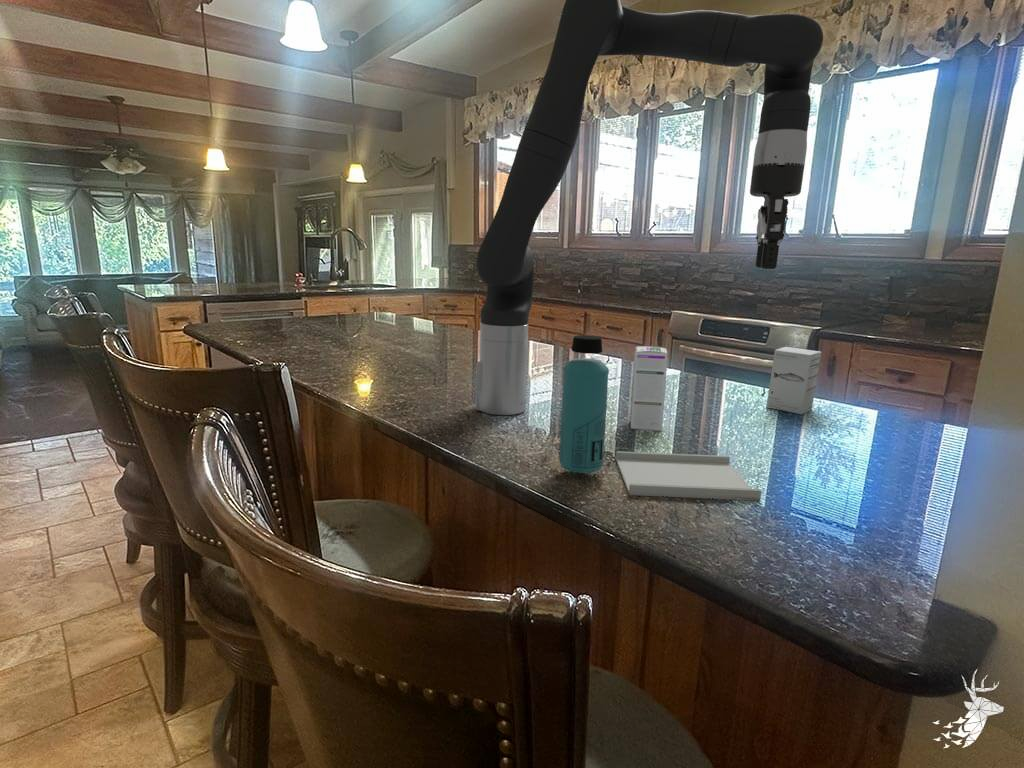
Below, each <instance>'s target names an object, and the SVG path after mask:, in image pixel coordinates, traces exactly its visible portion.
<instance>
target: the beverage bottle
mask: <svg viewBox="0 0 1024 768" xmlns="http://www.w3.org/2000/svg"><path fill="white" fill-rule="evenodd" d="M571 351H572V352H574V353H579V354H586V355H588V354H589V355H590V354H592V355H593V354H601V353H603V340H602V337H601V336H597V335H592V334H586V335H585V334H580V335H574V336H573V338H572V345H571ZM562 369H563V370H562V371H563V375H562V376H563V377H562V400H561V410H560V419H559V421H560V427H559V434H558V435H559V448H558V455H557V456H558V458H559V459H558V458H557V459H558V461H559V465H560V466H561V468H563V469H565V470H568V471H570V472H574V473H579V474H583V473H584V474H586V473H587V474H589V473H595V472H599V471H600V470H602V468H603V465H604V464H605V462H604V461H605V455H606V450H605V443H606V441H605V440H606V437H605V435H606V425H607V423H608V422H607V420H606V419H607V410H608V407H609V406H608V385H609V373H610V370H609V368H608V366H607V365H606V364H605V363H604V362H603V361H602V360H599V359H596V358H586V357H585V358H584V357H579V358H578V357H577V358H572V359H571V360H569V362H567V363H566V364H565V365H564V366H563V367H562Z"/></svg>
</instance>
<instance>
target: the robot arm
mask: <svg viewBox="0 0 1024 768" xmlns="http://www.w3.org/2000/svg"><path fill="white" fill-rule="evenodd" d="M621 3H622V2H621V0H565V2H564V4H563V8H562V10H561V14H560V19H559V23H558V27H557V30H556V34H555V35H556V36H555V39H554V43H553V47H552V50H551V55H550V58H549V62H548V65H547V69H546V71H545V73H544V77H543V78H542V81H541V84H540V86H539V88H538V91H537V93H536V97H535V99H534V102H533V106H532V108H531V111H530V114H529V116H528V119H527V122H526V124H525V126H524V129H523V132H522V134H521V138H520V140H519V143H518V147H517V149H516V151H515V156H514V159H513V161H512V166H511V168H510V171H509V174H508V177H507V180H506V183H505V186H504V188H503V189H504V190H503V193H502V196H501V199H500V202H499V204H498V207H497V210H496V212H495V215H494V217H493V219H492V221H491V223H490V225H489V227H488V229H487V231H486V234H485V236H484V238H483V240H482V241H481V244H480V247H479V249H478V252H477V255H476V260H475V261H476V271H477V274H478V276H479V278H480V280H481V281H482V283H484V284H485V285H487V288H486V290H487V291H486V297H485V301H484V303H483V305H482V307H481V309H480V332H479V333H480V335H479V336H480V337H479V338H480V339H479V340H480V341H479V361H477V362H476V363H475V403H474V404H475V405H474V408H475V410H476V411H480V412H482V413H486V414H490V415H495V416H496V415H498V416H509V415H510V416H511V415H517V414H518V415H519V414H521V413H523V412H525V411H526V402H527V398H526V395H527V394H526V392H527V375H528V373H527V369H528V345H529V343H528V340H529V339H528V338H529V317H530V312H531V310H532V304H533V291H534V277H535V260H534V256H533V252H532V249H531V248H530V246H529V243H530V239H531V236H532V234H533V230H534V228H535V224H536V222H537V220H538V217H539V216H540V214H541V212H542V211H543V209H544V207H545V206H546V204H547V203H548V201H549V200H550V198H551V197H552V195H554V192H555V191H556V190H557V187H558V186H559V184H560V182H561V181H562V179H563V176H564V175H565V172H566V170H567V167H568V165H569V162H570V159H571V157H572V154H573V151H574V148H575V147H576V143H577V141H578V136H579V132H580V127H581V123H582V116H583V111H584V104H585V99H586V93H587V89H588V84H589V81H590V77H591V75H592V71H593V69H594V68H595V67H594V66H595V65H596V62H597V60H598V58H599V56H650V57H651V56H652V57H653V56H654V57H663V58H672V59H680V60H685V61H693V62H696V63H697V62H698V63H704V64H710V65H715V66H716V65H717V66H724V67H728V68H737V67H741V66H743V65H745V64H759V65H764V79H763V81H764V82H763V101H762V107H761V111H760V118H759V125H758V126H759V127H758V135H757V141H756V144H755V148H754V153H753V154H754V156H753V163H752V171H751V177H750V178H751V181H750V186H749V188H750V189H749V194H750V195H751V196H753V197H759V198H760V197H761V198H763V199H764V201H763V205H761V206H760V207H759V208H758V211H757V225H756V237H755V239H756V244H757V248H756V258H755V267H756V268H762V269H765V270H767V269H768V270H774V269H776V268H777V264H778V255H779V250H780V245H781V244H782V241H783V240H784V237H785V229H786V219H787V215H788V205H789V199H788V197H789V198H790V197H795V196H799V195H800V194H801V192H802V187H803V181H804V180H803V178H804V172H805V165H806V157H807V149H808V130H809V123H810V115H811V104H812V100H811V95H810V94H809V92H810V85H811V77H812V72H813V71H812V70H813V66H814V63H815V62H814V61H815V59H816V58H817V57H818V54H819V53H820V51H821V48H822V46H823V42H824V32H823V29H822V27H821V25H820V24H819V22H817V20H815V19H813V18H811V17H809V16H807V15H803V14H798V13H775V14H774V13H772V14H771V13H770V14H760V15H746V14H741V13H740V14H739V13H734V12H727V11H719V10H710V9H708V10H707V9H695V10H688V11H687V10H685V11H679V12H678V11H677V12H670V13H669V12H667V13H656V12H655V13H654V12H645V11H640V10H636V9H633V8H631V7H628V6H624V5H622V4H621Z"/></svg>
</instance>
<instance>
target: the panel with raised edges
mask: <svg viewBox="0 0 1024 768" xmlns="http://www.w3.org/2000/svg"><path fill="white" fill-rule="evenodd" d="M615 454H616V455H615V461H616V463H617V466H618V469H619V471H620V474H621V477H622V479H623V481H624V485H625V487H626V490H627V492H628V495H629V496H640V497H642V496H644V497H645V496H646V497H647V496H648V497H663V496H664V497H666V496H667V497H666V498H687V499H707V500H709V498H710V499H712V498H713V499H714V500H729V501H730V500H732V499H733V501H734V499H735V501H753V500H755V502H757V501H758V502H759V501H761V497H762V489H760V488H752V487H751V486H750V485H749V483H747V482H746V480H745V479H744V477H742V476H741V474H739V473H738V471H737V470H736V469H735V468H734V467H733V466H732V465H731V464H730V461H731V460H730V459H731V457H730V456H729V455H715V454H713V455H712V454H689V453H671V452H670V453H668V452H664V453H663V452H644V451H643V452H642V451H641V452H640V451H621V450H620V451H619V450H617V451H616V453H615ZM713 499H712V500H713ZM756 500H757V501H756Z"/></svg>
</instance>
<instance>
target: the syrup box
mask: <svg viewBox="0 0 1024 768" xmlns="http://www.w3.org/2000/svg"><path fill="white" fill-rule="evenodd" d="M633 363H634V364H633V377H632V390H631V391H632V392H631V406H630V407H631V409H630V429H633V430H639V431H651V432H653V431H654V432H662V430H663V423H664V411H665V398H666V385H667V370H668V369H667V367H668V365H667V364H668V351H667V348H666V347H660V346H646V345H645V346H635V350H634V362H633Z"/></svg>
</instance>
